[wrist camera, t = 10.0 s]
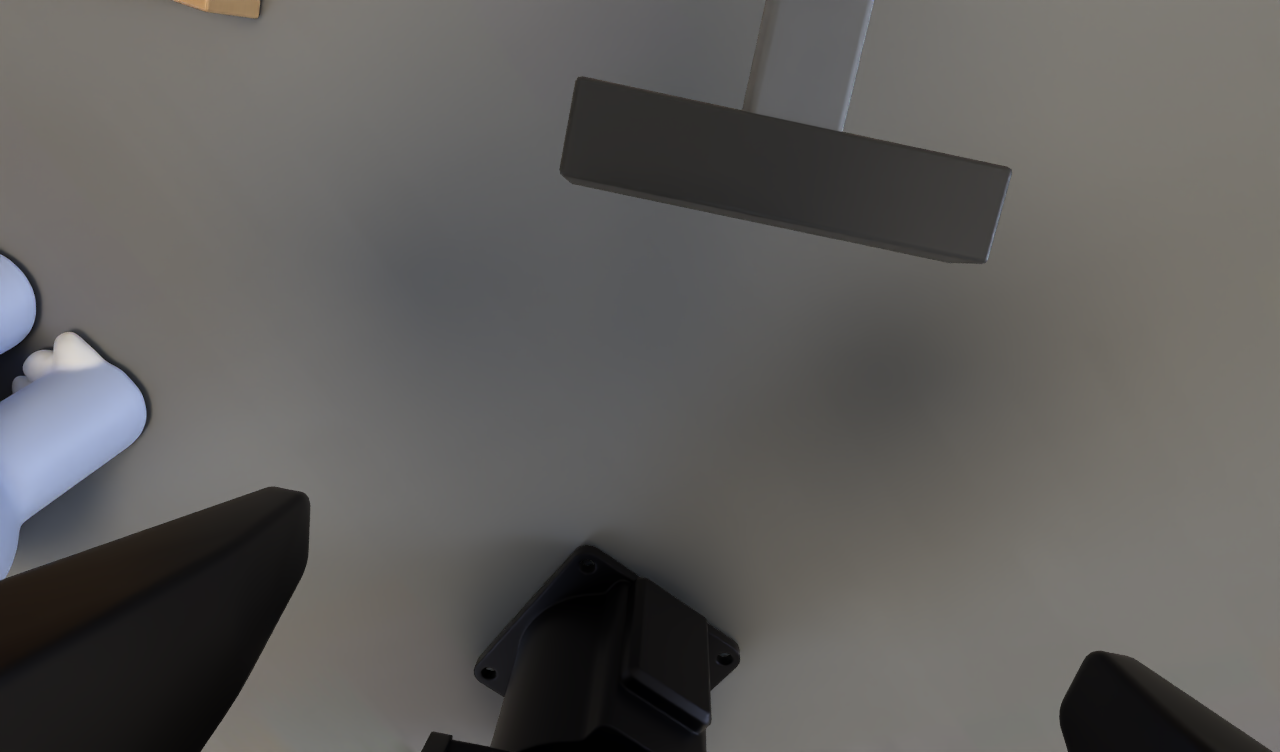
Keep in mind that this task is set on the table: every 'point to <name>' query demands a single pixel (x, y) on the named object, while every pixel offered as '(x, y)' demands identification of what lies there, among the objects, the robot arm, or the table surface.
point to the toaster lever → (787, 148)
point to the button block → (226, 7)
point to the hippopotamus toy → (54, 415)
